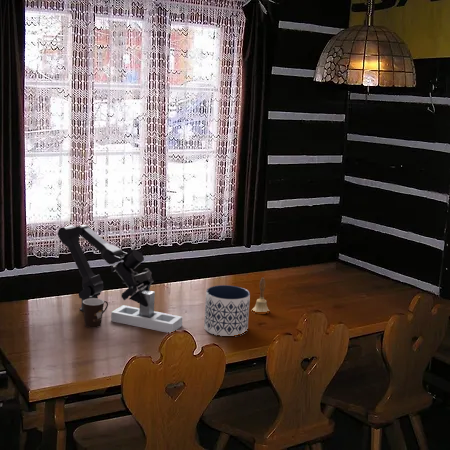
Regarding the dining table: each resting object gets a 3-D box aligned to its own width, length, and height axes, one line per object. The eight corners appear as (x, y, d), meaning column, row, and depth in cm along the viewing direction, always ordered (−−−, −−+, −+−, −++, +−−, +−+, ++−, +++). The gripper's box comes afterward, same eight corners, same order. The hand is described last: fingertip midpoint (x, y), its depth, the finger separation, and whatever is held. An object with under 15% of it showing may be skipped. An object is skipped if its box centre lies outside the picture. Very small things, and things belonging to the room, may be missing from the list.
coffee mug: (85, 329, 279) (86, 306, 277) (79, 322, 286) (80, 299, 284) (113, 326, 284) (114, 303, 282) (106, 319, 292) (107, 296, 290)
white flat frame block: (111, 321, 290) (111, 312, 289) (122, 313, 299) (123, 305, 298) (171, 333, 281) (172, 324, 280) (182, 325, 290) (182, 316, 289)
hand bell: (268, 315, 308) (271, 281, 305) (250, 313, 310) (252, 279, 306) (271, 309, 316) (273, 276, 312) (253, 307, 318) (255, 274, 314)
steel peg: (139, 320, 288) (140, 292, 286) (144, 316, 292) (145, 289, 290) (148, 322, 287) (149, 294, 284) (153, 318, 291) (154, 291, 288)
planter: (232, 341, 277) (235, 302, 273) (195, 330, 286) (197, 292, 282) (255, 328, 292) (258, 291, 288) (219, 318, 301) (221, 282, 297)
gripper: (129, 269, 277) (152, 300, 276) (150, 258, 294) (172, 287, 293) (111, 284, 281) (134, 315, 280) (133, 273, 299) (155, 302, 297)
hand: (149, 304), depth 288 cm, fingers closed on steel peg, 4 cm apart
